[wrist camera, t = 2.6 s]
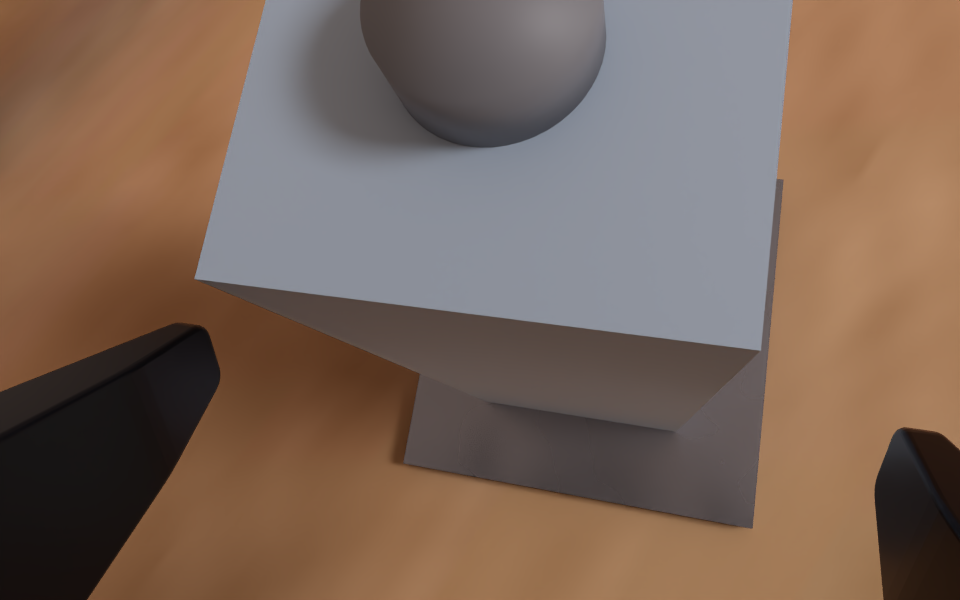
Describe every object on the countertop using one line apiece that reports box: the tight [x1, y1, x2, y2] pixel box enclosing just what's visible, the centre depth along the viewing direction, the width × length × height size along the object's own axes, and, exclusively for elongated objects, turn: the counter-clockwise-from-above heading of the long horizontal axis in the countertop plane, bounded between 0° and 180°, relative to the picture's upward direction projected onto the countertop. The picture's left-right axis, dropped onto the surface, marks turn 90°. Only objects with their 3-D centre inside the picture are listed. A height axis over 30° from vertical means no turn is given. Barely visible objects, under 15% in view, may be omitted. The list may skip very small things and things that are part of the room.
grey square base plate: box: [403, 179, 783, 529], centre depth 17 cm, size 9×9×3 cm
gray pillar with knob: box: [195, 0, 793, 432], centre depth 12 cm, size 5×5×14 cm
